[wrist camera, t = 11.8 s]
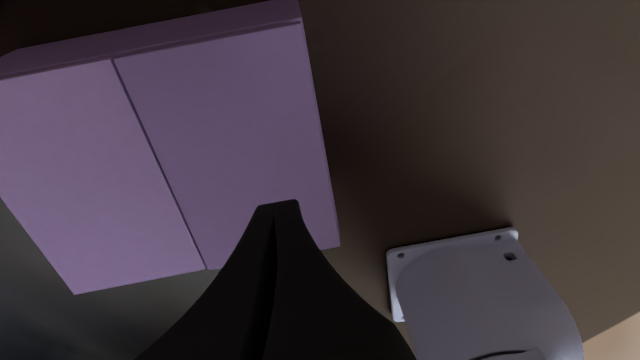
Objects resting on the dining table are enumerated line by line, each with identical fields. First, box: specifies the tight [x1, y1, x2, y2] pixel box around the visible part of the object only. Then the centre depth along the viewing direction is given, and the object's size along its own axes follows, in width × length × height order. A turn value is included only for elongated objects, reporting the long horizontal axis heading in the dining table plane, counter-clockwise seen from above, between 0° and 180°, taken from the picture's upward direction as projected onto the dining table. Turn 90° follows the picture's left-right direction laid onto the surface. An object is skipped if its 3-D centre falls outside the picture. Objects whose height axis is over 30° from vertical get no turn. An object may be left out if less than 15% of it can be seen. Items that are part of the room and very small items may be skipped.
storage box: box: [0, 0, 341, 270], centre depth 19 cm, size 14×11×6 cm
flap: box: [0, 56, 206, 295], centre depth 17 cm, size 7×11×1 cm, turn 9°
